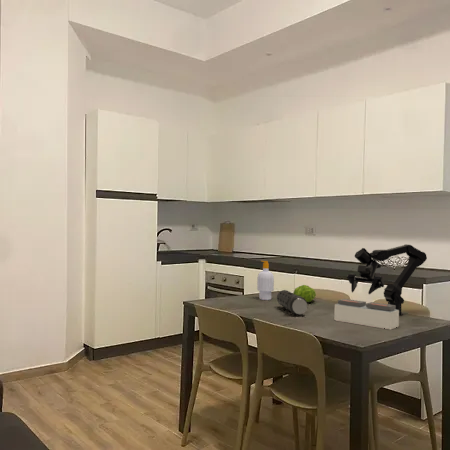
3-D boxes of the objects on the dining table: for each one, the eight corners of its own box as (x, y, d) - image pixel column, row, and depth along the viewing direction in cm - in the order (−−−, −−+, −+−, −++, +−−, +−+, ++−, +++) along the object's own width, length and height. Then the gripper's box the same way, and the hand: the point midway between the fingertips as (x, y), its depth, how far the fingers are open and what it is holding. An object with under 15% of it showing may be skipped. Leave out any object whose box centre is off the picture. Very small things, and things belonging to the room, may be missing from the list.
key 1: (343, 302, 244) (343, 298, 244) (365, 305, 236) (365, 301, 236) (338, 303, 239) (338, 300, 239) (360, 306, 231) (360, 303, 231)
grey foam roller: (292, 307, 275) (292, 289, 275) (308, 317, 247) (308, 297, 247) (276, 307, 273) (276, 289, 273) (291, 317, 245) (291, 297, 245)
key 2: (371, 305, 234) (371, 302, 233) (395, 309, 225) (395, 305, 225) (365, 307, 229) (366, 303, 229) (390, 310, 221) (390, 306, 221)
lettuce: (320, 290, 306) (304, 278, 309) (318, 294, 283) (300, 280, 286) (308, 305, 308) (292, 293, 311) (305, 309, 284) (288, 296, 287)
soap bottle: (256, 297, 307) (257, 260, 307) (273, 298, 306) (273, 260, 306) (257, 300, 297) (258, 261, 296) (274, 300, 296) (274, 261, 296)
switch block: (343, 317, 245) (343, 302, 245) (398, 326, 226) (398, 309, 226) (334, 320, 239) (334, 304, 239) (390, 329, 219) (390, 312, 219)
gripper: (348, 258, 253) (338, 281, 245) (382, 260, 241) (373, 284, 233) (355, 272, 259) (345, 294, 251) (388, 274, 247) (379, 298, 239)
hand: (360, 292), depth 243 cm, fingers open, 9 cm apart
